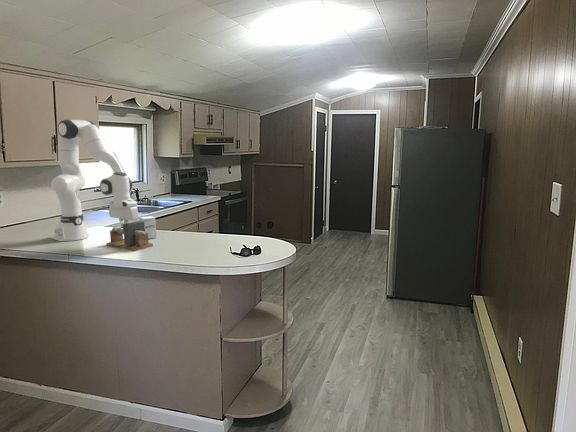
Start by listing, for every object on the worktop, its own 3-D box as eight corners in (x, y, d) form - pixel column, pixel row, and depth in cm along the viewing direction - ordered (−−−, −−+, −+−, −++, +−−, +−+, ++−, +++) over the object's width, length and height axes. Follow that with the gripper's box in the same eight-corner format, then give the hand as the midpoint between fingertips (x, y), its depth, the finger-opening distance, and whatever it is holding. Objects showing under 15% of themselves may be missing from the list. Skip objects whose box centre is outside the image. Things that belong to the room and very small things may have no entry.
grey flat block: (124, 244, 248) (122, 224, 247) (140, 240, 258) (139, 220, 256) (129, 245, 246) (127, 225, 244) (145, 240, 256) (144, 221, 254)
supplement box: (144, 240, 269) (143, 218, 267) (140, 237, 275) (138, 217, 273) (157, 238, 273) (155, 217, 271) (152, 236, 279) (151, 215, 277)
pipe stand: (106, 245, 256) (105, 229, 255) (124, 241, 266) (122, 225, 265) (135, 250, 244) (134, 233, 242) (153, 246, 254) (151, 229, 252)
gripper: (105, 201, 255) (107, 225, 257) (129, 204, 244) (131, 229, 247) (114, 199, 260) (116, 223, 263) (139, 202, 249) (140, 227, 252)
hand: (124, 226), depth 255 cm, fingers closed
